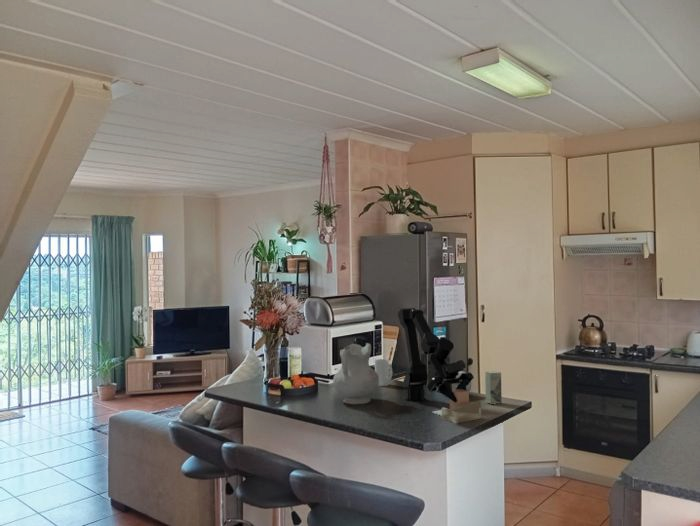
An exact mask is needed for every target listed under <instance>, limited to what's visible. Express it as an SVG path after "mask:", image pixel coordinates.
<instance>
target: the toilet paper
mask: <svg viewBox="0 0 700 526" xmlns="http://www.w3.org/2000/svg"><path fill="white" fill-rule="evenodd" d="M458 373H459V374H458V376H456V378H459V377H460V375H461V374H462V373H466V372H465V371H464V370H463V371H462V370H461V371H459V372H458ZM450 388H451V390H456V388H457V385H456V384H450ZM466 390H467V391H469V392H470V391H471V390H472V381H471V382H470V383H469V384H468V385H467V386H466ZM441 395H442V396H443V394H441ZM443 397H445V395H444V396H443Z"/></svg>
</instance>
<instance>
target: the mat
mask: <svg viewBox="0 0 700 526" xmlns="http://www.w3.org/2000/svg"><path fill="white" fill-rule="evenodd" d="M431 413H432V414H433V413H434V415H436V414H437V415H436V416H439V415H440V416H439V417H442V409H439V410H434V411H432V412H431Z"/></svg>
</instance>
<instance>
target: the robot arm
mask: <svg viewBox="0 0 700 526" xmlns="http://www.w3.org/2000/svg"><path fill="white" fill-rule="evenodd" d="M397 318H398V321H399V324H400V325H401V327H402V328H403V329H404V333H405V341H406V347H407V355H408V365H407V367H406V374H405V376H404V378H403V385H404V386H405V387H406V388H407V392H406V393H407V397H406V398H405V400H406V401H410V400H412V402H417V401H419V402H421V401H424V400H426V399H427V397H426V396H425V394H426V393H425V389H424V388H425V387H424V386H427V389H428V391H429V393H434V392H437V393H440V394H441V395H442V394H443V395H445V396H446V397H445V396H444V397H445V398H447V397H448V399H449V400H450V399H451V400H452V401H454V402H457V399H456V397H455V395H454V393H453V391H452V390H451V388H450V384H456V385H457V388H456V389H462V390H466V386H467V385H468V384H469V383H470V382H471V383H472V381H473V380H474V375H473V374H472V372H470V371H469V372H465V373H462V374H461V375H460V377H459V378H456V376H458V374H459V373H458V372H460V371H463V372H464V369H465V368H466V367H467V366H466V363H465V362H464V361H463V359H461V360H458V361H455V362H451V363H449V362H448V358H449V357H450V355H451V353H452V351H453V350H454V348H455V346H454V343H453V342H452V341H451V340H449V339H448V338H447V337H445V336H441V337H438V335H436V334H434V333H433V332H432V331H433V330H432V329H431V327H430V326H429V324H428V321H427V320H426V318H425V316H424V311H423V310H422V309H421V308H419V309H416V307H406V308H405V307H401V308H400V310H399V311H398V312H397ZM417 333H418V334H419V336H420V339H421V344H420V346H421V351H422V352H423V353H424V355H430V357H428V361H427V364H428V365H432V367H433V369H434V371H435V373H434V375H435V377H432V378H430V379H431V380H430V381H429V382H428V376H429V375H428V371H427V370H428V369H427V365H426V364H425V363H423V362H422V360H421V354H420V348H419V342H418V334H417ZM466 391H467V390H466ZM443 395H442V396H443ZM423 399H424V400H423ZM420 400H421V401H420Z"/></svg>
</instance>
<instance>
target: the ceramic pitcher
mask: <svg viewBox="0 0 700 526" xmlns="http://www.w3.org/2000/svg"><path fill="white" fill-rule="evenodd" d="M371 354H372V345H371V343H370V342H369V343H368V342H365V346H361V344H356V343H351V344H349V345H346V346H345V347H344V348H343V349H340V350H339V356H340V359H341V367H340V369H339V370H337V372H336V373H335V374H334V375H333V378H332V379H333V380H332V382H333V387H334V389H335V390H336V392H337V394H338V395H340V396H342V397H343V398H344V399H343V402H344V403H345V404H347V403H348V405H349V404H350V405H361V404H363V405H364V404H368V403H369V402H371V400H372V399H371V398H370V396H372V395H373V394H375V393H376V391H378V390H377V389H378V387H379V386H378V385H379V377H378V374H377V372H376V371H375V369H373V368H372V367H371V366H370V363H369V362H370V357H371Z"/></svg>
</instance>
